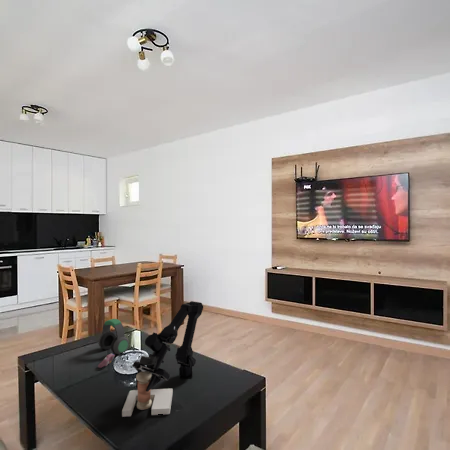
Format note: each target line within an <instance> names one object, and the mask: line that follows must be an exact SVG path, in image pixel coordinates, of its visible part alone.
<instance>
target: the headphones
mask: <svg viewBox="0 0 450 450" xmlns="http://www.w3.org/2000/svg"><path fill="white" fill-rule="evenodd" d="M111 327H112V328H113V329H114V331H115V333H114V332H112V331H111ZM101 332H102V333H101V334H100V336H99V337H98V341H97V342H98V346H99V347H100V348H101V349H103V350H104V351H108V350H110V349H111V353H112V354H114V355H121V354H120V353H123V352H124V353H126V352H127V350H128V348H129V346H130V342H129V338H127V337H126V335H125V334H126V332H125V328H124V325H123V323H122V321H120V320H119V319H117V318H110V319H108V320H106V321H104V324H103V326H102V331H101ZM125 351H126V352H125ZM124 353H123V354H124Z"/></svg>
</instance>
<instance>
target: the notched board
mask: <svg viewBox="0 0 450 450" xmlns="http://www.w3.org/2000/svg"><path fill="white" fill-rule="evenodd" d="M173 391H174V390H173V388H154V389H153V388H151V400H152V406H151V409H150V410H151V416H159V415H158V414H163V415H170V414H171V406H172V402H173V401H172V400H173V393H174V392H173ZM137 402H138V389H133V390H131V389H130V390H129V392H128V394H127V397H126V400H125V402H124V405H123V408H122V410H121V417H122V418H123V417H124V418H125V417H132V414H133V411H134V408H135V406H136V404H137Z"/></svg>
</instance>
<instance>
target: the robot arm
mask: <svg viewBox="0 0 450 450" xmlns="http://www.w3.org/2000/svg"><path fill="white" fill-rule="evenodd" d="M203 310H204V305H203V303H202V302H199V301H194V300H191V301H190V302H186V303H182V304H181V305H180V308H179V310H178V311H177V313H176V314H175V316H174V317H173V319H172V320H171V322H170V323H169V324H168V325H166V326H165V327H163V329H162V330H161V331H160V332H159V333H157V332H154V331H153V332H152V333H151V334H150V335H148V336H147V337H146V338H145V340H144V344H145V345H146V347H147V348H148V349H150V350H151V351H152V354H151V353H150V354H149V355H148V356H146V355H145V356H144V355H140V359H139V360H138V361H137V360H136V361H134V362H133V364H132V365H131V366H132V368H134V369H135V370H136V372H137V374H138V373H140V372H143V371H148V372H151V379H150V382H149V384H148V386H147V389H146V391H147V392H148V391H149V390H150V389H153V387H155V386H156V385H157V384H158V383H160V382H161V381H163V380H164V381H169V379H170V374H171V373H170V372H168V371H167V370H166V369H164V368H160V367H161V365H162V364H164V362H165V361H164V359H165V357H166V355H167V352H171V347H170V346H171V344H172V345H173V343H174V342H176V339H177V337H178V331H179V329H180V327H181V326H182V324H183V323H184V321H185V319H186V317H188V318H187V323H186V326H185V331H184V336H183V340H182V344H181V345H180V347H177V349H176V352H175V360H176V363H177V364H178V365H179V370H178V375H179V377H180V378H179V379H192V378H193V375H194V373H193V367H195V365H196V363H197V362H196V361H197V360H196V358H195V357H193V355H194V351H193V348H192V345H193V340H194V336H195V332H196V328H197V327H196V326H197V323H198V322H197V321H198V319H199V318H200V316H201V315H202V313H203ZM135 388H136V389H138V381H137V380H136V385H135Z"/></svg>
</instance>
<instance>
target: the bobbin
mask: <svg viewBox="0 0 450 450" xmlns="http://www.w3.org/2000/svg"><path fill="white" fill-rule="evenodd" d="M135 376H136V382H137V381H138V388H137V390H138V401H136V409H138V410H141V411H143V410H144V411H145V410H147V409H150V408H152V405H153V400H151V389H152V388H151V389H150V390H149V391H148V392H147V391H146V389H147V386H148V384H149V382H150V380H151V377H152V373H151V372H148V371H143V372H140V373H137V374H136V375H135Z"/></svg>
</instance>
